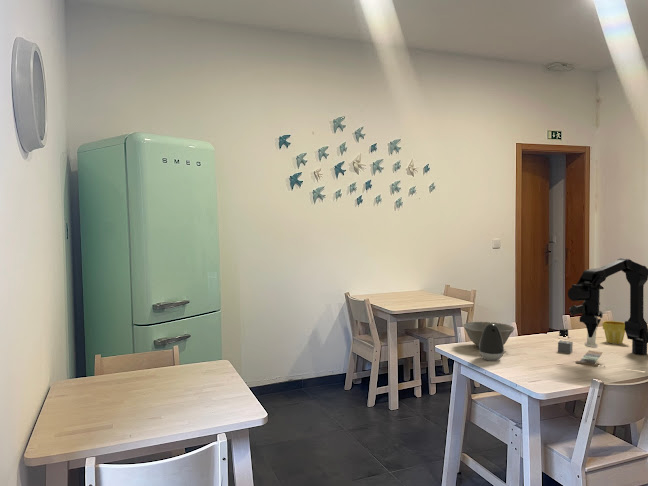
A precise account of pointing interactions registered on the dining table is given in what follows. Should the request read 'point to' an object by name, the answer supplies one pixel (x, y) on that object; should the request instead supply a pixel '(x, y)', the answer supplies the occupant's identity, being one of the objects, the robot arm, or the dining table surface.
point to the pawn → (591, 340)
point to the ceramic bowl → (477, 328)
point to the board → (590, 358)
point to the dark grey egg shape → (491, 343)
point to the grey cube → (565, 346)
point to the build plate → (563, 332)
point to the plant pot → (614, 331)
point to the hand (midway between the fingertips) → (591, 336)
